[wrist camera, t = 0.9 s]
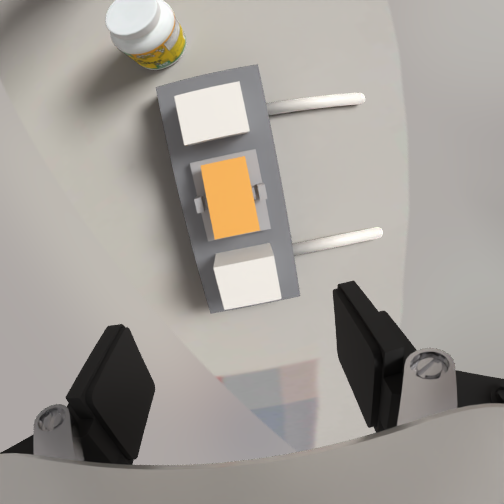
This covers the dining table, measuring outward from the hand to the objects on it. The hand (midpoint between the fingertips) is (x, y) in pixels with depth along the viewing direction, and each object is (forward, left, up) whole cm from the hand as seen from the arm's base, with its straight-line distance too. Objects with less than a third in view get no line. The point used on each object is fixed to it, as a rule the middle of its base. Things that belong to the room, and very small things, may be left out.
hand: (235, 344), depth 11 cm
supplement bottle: (-18, -4, -22) cm, 29 cm away
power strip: (-2, +5, -22) cm, 22 cm away
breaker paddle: (-2, 0, -17) cm, 17 cm away
